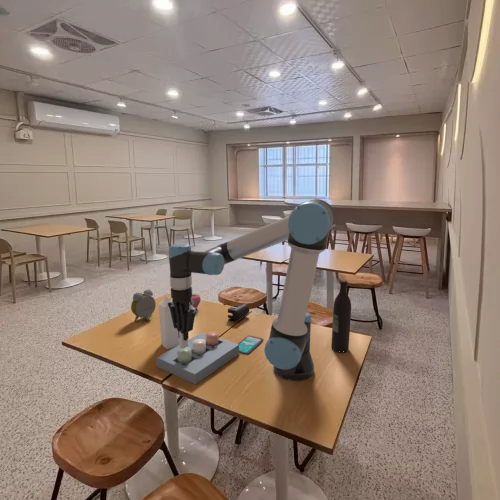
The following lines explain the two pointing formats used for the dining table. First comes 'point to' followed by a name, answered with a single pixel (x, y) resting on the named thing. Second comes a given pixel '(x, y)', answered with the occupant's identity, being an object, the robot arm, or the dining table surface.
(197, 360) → the console
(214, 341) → the button terracotta
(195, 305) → the apple
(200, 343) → the button cream
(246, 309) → the end cap
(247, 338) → the smartphone
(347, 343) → the wine bottle
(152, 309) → the alarm clock
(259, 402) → the dining table surface
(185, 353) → the button sage
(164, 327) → the milk
